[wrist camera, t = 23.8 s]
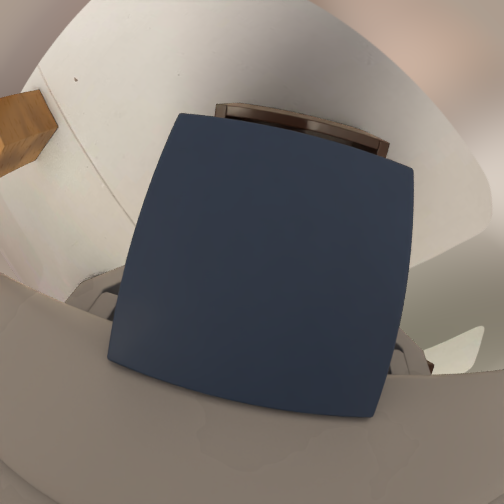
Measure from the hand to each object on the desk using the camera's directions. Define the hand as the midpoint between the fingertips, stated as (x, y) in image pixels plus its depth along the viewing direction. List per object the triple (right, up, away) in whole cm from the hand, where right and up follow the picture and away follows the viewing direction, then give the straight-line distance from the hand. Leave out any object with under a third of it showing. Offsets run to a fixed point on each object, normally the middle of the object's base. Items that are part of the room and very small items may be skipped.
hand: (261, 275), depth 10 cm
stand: (-32, +20, +17) cm, 41 cm away
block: (0, 0, -1) cm, 1 cm away
